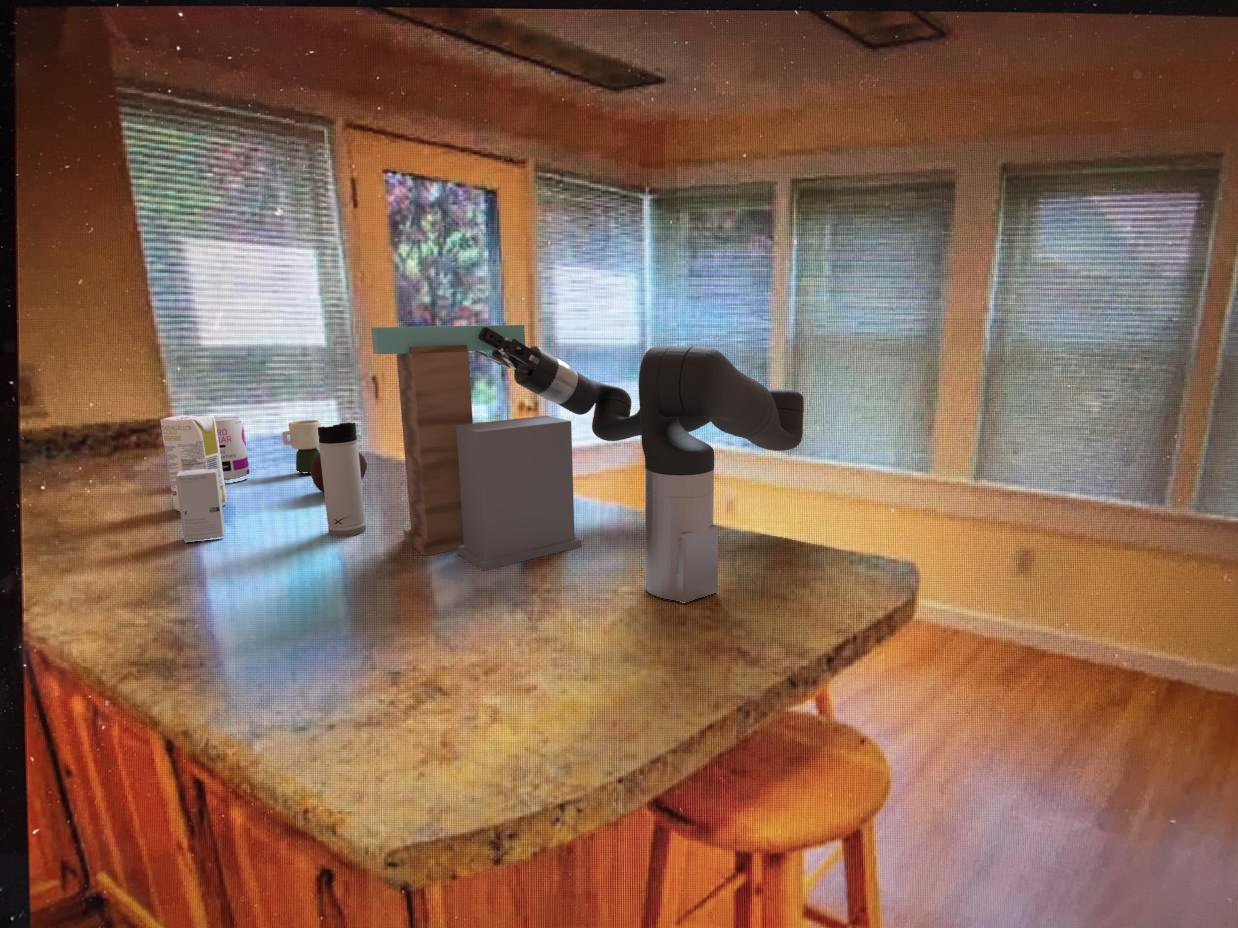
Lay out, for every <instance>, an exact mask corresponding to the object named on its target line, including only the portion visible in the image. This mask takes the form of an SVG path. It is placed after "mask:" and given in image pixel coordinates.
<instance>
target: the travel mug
mask: <svg viewBox="0 0 1238 928" xmlns="http://www.w3.org/2000/svg"><path fill="white" fill-rule="evenodd" d="M356 425H357V424H356V422H342V423H339V424H333V425H331V426H321V427H318V436H319V445H320V446H319V447H318V449H319V452H320V458H321V467H322V476H323V485H324V493H323V494H324V500H325V502H324V503H325V509H326V520H327V525H328V527H327V529H328V534H329V535H330V536H332V537H336V536H337V537H339V538H345V537H351V536H352V537H353V536H356V535H357V536H358V535H359V534H360V535H361V534H362V533H364V532H365V531H366V529H367V525H366V516H365V515H366V514H365V503H364V493H363V484H362V483H363V482H362V480H361V472H360V462H359V453H360V452H359V444H358V437H357V426H356Z"/></svg>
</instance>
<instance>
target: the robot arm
mask: <svg viewBox="0 0 1238 928" xmlns="http://www.w3.org/2000/svg"><path fill="white" fill-rule="evenodd" d="M478 337H479V339H480V340H481V341H483V342H485V343H487V344H488V345H490V346H492V347H493V348H495V349H498V348H499V350H483V351H474V352H475V353H476V354H480V355H482V356H483V357H485V358H487V359H489V360H490V361H492V362H494V363H496V364H497V365H498V366H501V367H504V368H507V369H513V370H514V374H513V375H514V376H513V377H514V381H515V383H516V384H518V386H520V387H523V388H524V389H526V390H528V391H530V392H532V393H534V394H536V395H538V396H539V397H541V398H543V399H544V400H546V401H549V402H552V403H554V404H556V405H558V406H560V407H562V408H564V409H565V410H566V411H569V412H571V413H573V414H575V415H578V416H583V415H586V414H588V413H589V412H590V411H591V409H593V408H594V411H593V417H592V423H591V429H592V433H593V434H594V435H595V436H596V437H597V438H599V439H600V440H602V441H606V442H618V441H622V440H627V439H630V438H634V437H641V438H640V439H641V448H642V452H643V454H644V455H643V456H644V486H645V487H644V500H645V501H644V505H645V506H644V508H645V509H644V510H645V511H644V512H645V513H644V515H645V517H644V520H645V521H644V523H645V525H644V526H645V527H644V528H645V531H644V532H645V535H644V536H645V540H644V541H645V542H644V543H645V545H644V547H645V553H644V554H645V590H646V591H647V592H648V593H649V594H650V593H651V594H653V595H655V596H658V597H661V598H666V599H671V600H679V601H681V602H688V601H692V600H695V599H698V598H701V597H704V598H706V597H705V596H707V595H710V596H712V595H711V594H713V595H715V594H714V593H716V594H718V587H719V586H718V585H719V584H718V583H719V582H718V580H719V578H718V577H719V570H718V569H719V526H717V525H714V508H715V507H714V502H715V501H714V494H715V450H714V449H713V447H712V446H711V445H710V444H708V443H707V442H705V441H703V440H701V439H699V438H697V437H696V436H694V435H692V434H691V432H693V431H696V430H699V429H700V428H702V427H705V426H707V424H709V423H711V424H712V425H713V426H715V428H717V429H718V430H719V431H721V432H723V433H725V434H728V435H731V436H734V437H739V438H743V439H746V440H747V441H749V442H750V443H751V444H753V445H755V446H756V447H758V448H761V449H764V450H768V451H774V452H784V451H790V450H793V449H795V448H796V447H798V446H799V445H800V444H801V442H802V439H803V434H804V412H805V411H804V410H805V408H804V405H805V404H804V403H805V399H804V396H803V395H802V394H801V393H800V392H798V391H796V390H791V389H787V388H766V386H764V385H763V384H762V383H760V382H759V381H757V380H756V379H753V378H752V377H749V376H748V375H746V374H744V373H743V372H741V371H740V370H738V369H737V368H736V367H735V365H734V364H733V363H732V362H731V361H730V360H729V359H728V358H727V357H726V356H725V355H724V354H723V353H722V352H720V351H718V350H717V349H715V348H714V347H710V346H704V345H657V346H656V345H655V346H653V347H650V348H649V349H648V350H647V351H646V352H645V354H644V355H643V357H642V359H641V363H640V367H639V372H638V399H639V400H638V403H639V410H638V411H637V412H636V413H635V414H633V415H631V409H632V398H631V396H630V394H629V393H628V392H627V391H626V390H625V389H623V388H622V387H620V386H615V385H611V384H605V383H603V382H599V381H596V380H592V379H590V378H588V377H587V376H585V375H583V374H582V373H580V372H579V371H576V370H575V369H574V368H572V367H571V366H570V365H569V364H567V363H566V362H565V361H562V360H561V359H560V358H557V357H556V356H555V355H553V354H552V353H550V352H548V351H546V350H545V349H544V348H541V347H539V346H537V345H536V346H535V345H534V346H531V347H528V346H526V344H525V345H523V344H522V343H520V342H519V341H518V340H516V339H512V340H510V339H509V338H508V337H502V336H501V335H499V334H497V333H496V332H494V331H492V330H491V329H489V328H487V327H483V328H482V330H481V332H480V334H479V336H478ZM503 338H504V339H503ZM517 347H520V348H521V349H516V348H517ZM651 594H650V595H651ZM653 595H652V596H653ZM655 596H654V597H655ZM658 597H657V598H658ZM707 597H708V596H707ZM661 598H660V599H661ZM701 599H702V598H701ZM671 600H670V601H671ZM698 600H699V599H698ZM695 601H696V600H695ZM681 602H680V603H681ZM692 602H693V601H692Z"/></svg>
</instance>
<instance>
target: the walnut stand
mask: <svg viewBox="0 0 1238 928" xmlns="http://www.w3.org/2000/svg"><path fill="white" fill-rule="evenodd" d="M409 351H410V353H403V354H395V355H396V365H397V367H396V368H397V375H398V376H397V378H398V389H399V401H400V414H401V425H402V436H403V448H404V462H405V463H404V464H405V471H406V472H405V473H406V482H407V483H406V485H407V497H408V508H409V509H408V510H409V519H410V520H409V521H410V522H409V523H410V527H406V528H403V540H404V542H406V543H407V544H409V545H410V546H411V547H413V548H414V549H415V550H416V551H417V552H418V553H420V554H421V555H423V556H425V557H426V556H431V555H435V554H441V553H445V552H449V551H453V550H458V547H457V546H462V545H464V538H463V523H462V508H461V493H460V478H459V463H458V448H457V432H456V425H464V424H473V423H474V420H473V419H474V418H473V404H472V403H473V402H472V388H471V387H472V386H471V385H472V384H471V370H470V357H469V355H470V353H469V352H470V351H468V348H467V345H449V346H421V347H409Z"/></svg>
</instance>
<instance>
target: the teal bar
mask: <svg viewBox="0 0 1238 928" xmlns="http://www.w3.org/2000/svg"><path fill="white" fill-rule="evenodd" d="M483 327H487V328H489V329H491V330H492V331H494V332H496V333H497V334H499V335H501V336H502V337H508V338H509V339H510V340H512V339H516V340H518V341H519V342H520V343H522V344H523V345H525V346H526V334H525V333H526V332H525V331H526V329H525V328H526V327H525V324H495V325H493V324H488V325H487V324H485V325H483V324H482V325H480V324H479V325H437V326H435V325H433V326H432V325H431V326H427V325H426V326H384V327H383V326H380V327H379V326H378V327H374V326H373V327H370V329H371V330H370V331H371V341H372V353H373V354H375V355H396V354H403V353H410V351H409V347H421V346H449V345H467V348H468V352H475V351H483V350H499V348H498V349H495V348H493V347H492V346H490V345H488V344H487V343H485V342H483V341H481V340H480V339H479V337H478V336H479V334H480V332H481V330H482V328H483ZM503 339H504V338H503ZM516 349H521V348H520V347H517V348H516Z"/></svg>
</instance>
